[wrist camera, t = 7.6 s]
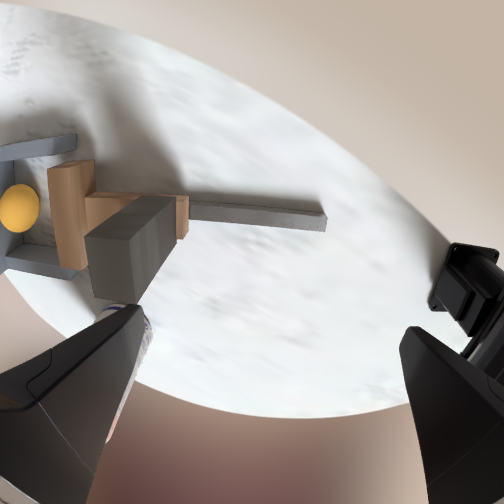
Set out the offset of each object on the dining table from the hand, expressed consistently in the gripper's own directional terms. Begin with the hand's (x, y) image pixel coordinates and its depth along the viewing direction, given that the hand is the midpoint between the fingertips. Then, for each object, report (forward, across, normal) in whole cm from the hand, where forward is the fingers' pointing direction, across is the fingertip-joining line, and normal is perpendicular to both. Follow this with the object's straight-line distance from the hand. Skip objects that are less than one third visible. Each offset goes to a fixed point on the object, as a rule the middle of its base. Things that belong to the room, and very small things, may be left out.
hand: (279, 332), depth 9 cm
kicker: (+11, +10, 0) cm, 15 cm away
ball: (+10, +21, 0) cm, 23 cm away
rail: (+12, +2, 0) cm, 12 cm away
